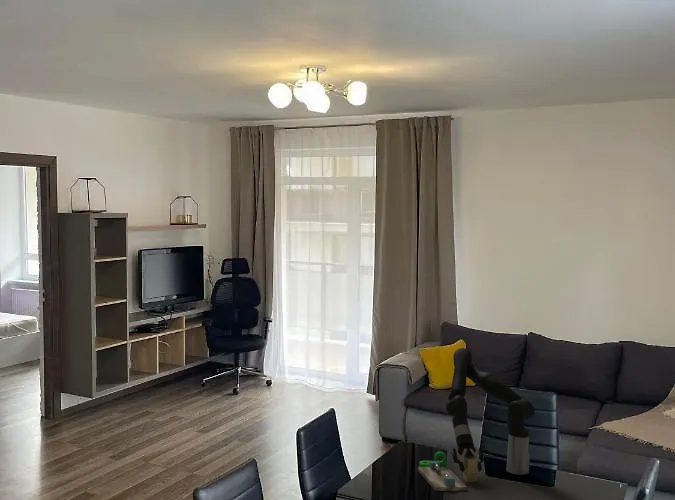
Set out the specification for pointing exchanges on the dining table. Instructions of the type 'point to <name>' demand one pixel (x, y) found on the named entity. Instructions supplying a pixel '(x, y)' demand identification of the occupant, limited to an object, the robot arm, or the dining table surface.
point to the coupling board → (441, 478)
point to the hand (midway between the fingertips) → (471, 471)
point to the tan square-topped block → (470, 469)
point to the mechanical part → (442, 463)
